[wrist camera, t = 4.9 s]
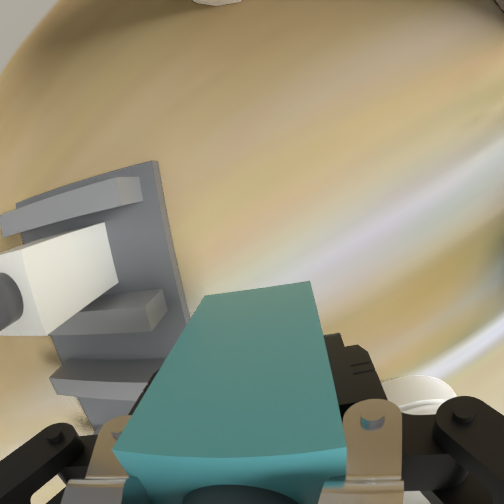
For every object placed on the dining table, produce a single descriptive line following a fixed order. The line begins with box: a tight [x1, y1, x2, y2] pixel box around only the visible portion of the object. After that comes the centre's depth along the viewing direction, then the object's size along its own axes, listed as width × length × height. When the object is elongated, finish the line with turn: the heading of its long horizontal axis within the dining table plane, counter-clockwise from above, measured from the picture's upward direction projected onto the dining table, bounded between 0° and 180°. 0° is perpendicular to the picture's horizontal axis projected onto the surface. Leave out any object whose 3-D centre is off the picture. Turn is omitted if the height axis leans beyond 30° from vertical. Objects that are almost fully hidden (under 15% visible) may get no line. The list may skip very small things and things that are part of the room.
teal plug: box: [112, 281, 347, 504], centre depth 8 cm, size 4×4×10 cm
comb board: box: [0, 161, 190, 435], centre depth 20 cm, size 12×22×4 cm, turn 9°
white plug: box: [0, 222, 118, 336], centre depth 15 cm, size 4×4×10 cm
